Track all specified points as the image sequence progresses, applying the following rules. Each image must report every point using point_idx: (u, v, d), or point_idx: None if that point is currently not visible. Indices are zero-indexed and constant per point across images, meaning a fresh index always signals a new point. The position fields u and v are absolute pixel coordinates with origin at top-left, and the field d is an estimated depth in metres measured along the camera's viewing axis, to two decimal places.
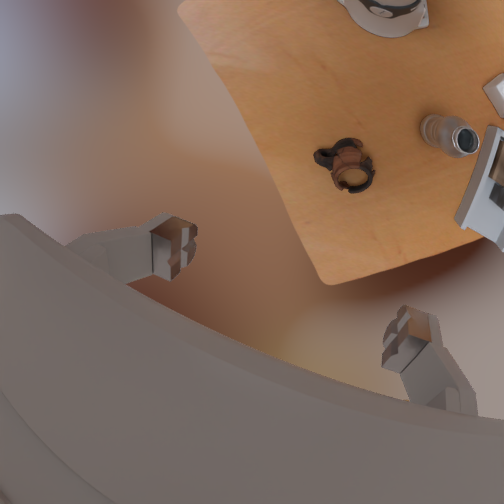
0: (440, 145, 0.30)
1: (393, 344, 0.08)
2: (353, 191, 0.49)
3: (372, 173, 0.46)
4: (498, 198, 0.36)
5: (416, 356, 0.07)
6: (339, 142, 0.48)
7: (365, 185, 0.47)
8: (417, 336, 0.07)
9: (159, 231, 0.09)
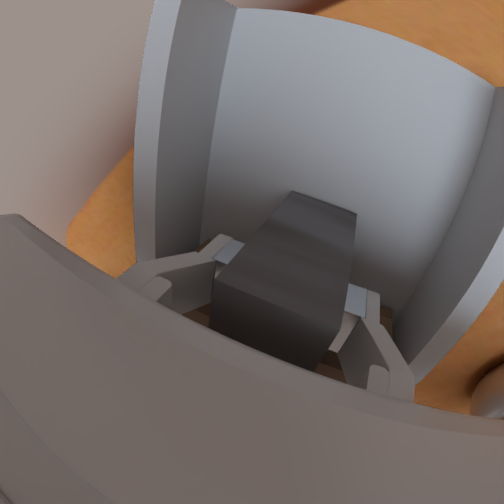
0: None
1: None
2: None
3: None
4: None
5: (351, 333, 0.08)
6: None
7: None
8: (347, 310, 0.08)
9: (223, 257, 0.09)
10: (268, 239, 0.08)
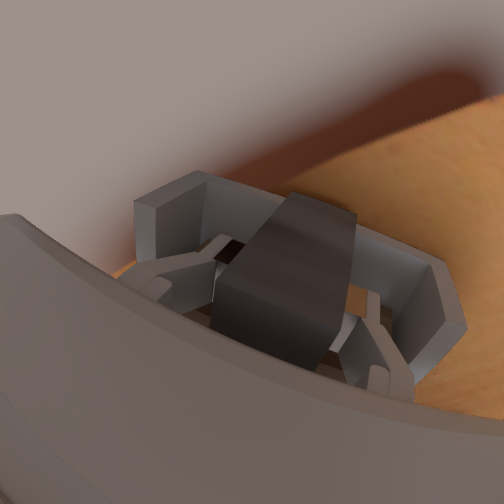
0: None
1: None
2: None
3: None
4: None
5: (351, 333, 0.08)
6: None
7: None
8: (347, 310, 0.08)
9: (224, 257, 0.09)
10: (269, 239, 0.08)
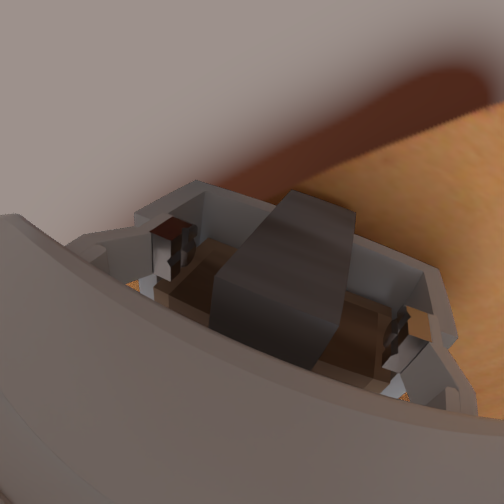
0: None
1: (393, 344, 0.08)
2: None
3: None
4: None
5: (417, 356, 0.07)
6: None
7: None
8: (417, 336, 0.07)
9: (159, 231, 0.09)
10: (267, 237, 0.08)
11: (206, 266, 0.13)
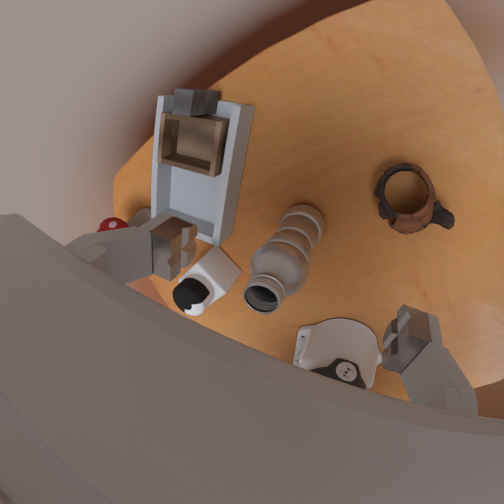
0: (300, 261, 0.28)
1: (393, 344, 0.08)
2: (404, 167, 0.29)
3: (377, 195, 0.32)
4: (204, 99, 0.33)
5: (416, 356, 0.07)
6: None
7: (387, 178, 0.30)
8: (417, 336, 0.07)
9: (159, 231, 0.09)
10: None
11: None
